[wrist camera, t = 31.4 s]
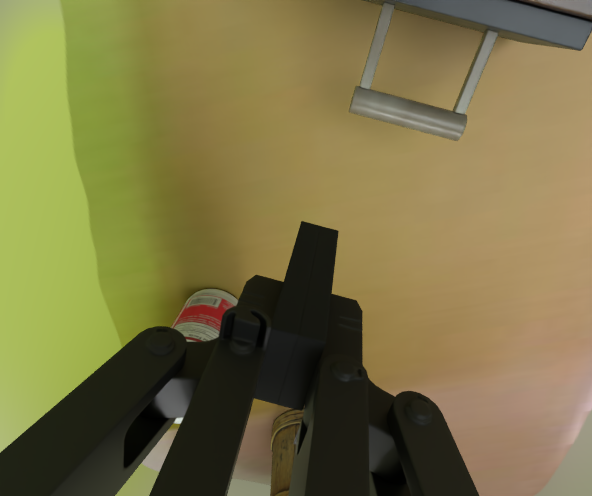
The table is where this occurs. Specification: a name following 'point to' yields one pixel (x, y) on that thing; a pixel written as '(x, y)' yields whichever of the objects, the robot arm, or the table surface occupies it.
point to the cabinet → (565, 6)
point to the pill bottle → (203, 316)
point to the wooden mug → (284, 451)
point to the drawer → (493, 22)
